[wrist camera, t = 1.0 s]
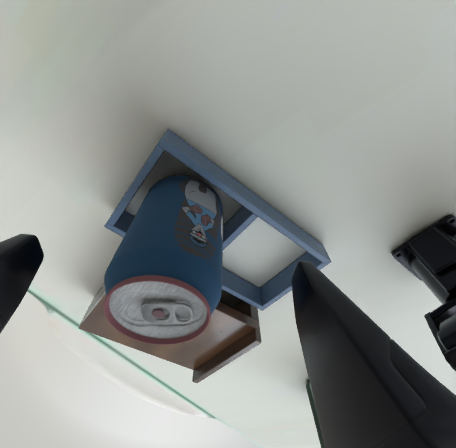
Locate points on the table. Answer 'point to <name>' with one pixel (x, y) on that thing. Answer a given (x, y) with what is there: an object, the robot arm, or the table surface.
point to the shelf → (196, 348)
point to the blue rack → (234, 226)
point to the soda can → (168, 264)
